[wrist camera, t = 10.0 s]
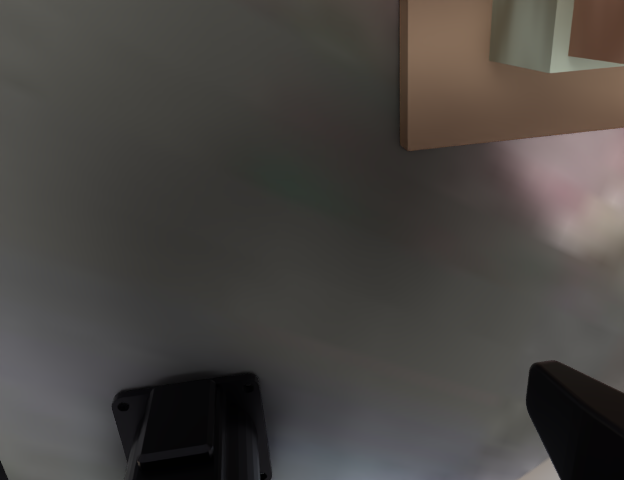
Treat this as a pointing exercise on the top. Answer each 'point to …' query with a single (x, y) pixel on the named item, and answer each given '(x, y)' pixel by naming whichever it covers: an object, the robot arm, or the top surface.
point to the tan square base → (498, 74)
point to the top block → (598, 30)
